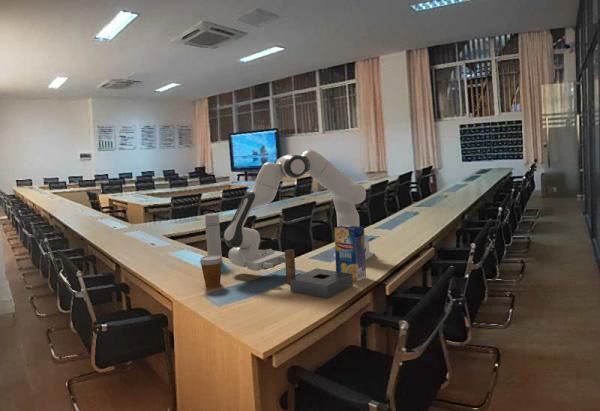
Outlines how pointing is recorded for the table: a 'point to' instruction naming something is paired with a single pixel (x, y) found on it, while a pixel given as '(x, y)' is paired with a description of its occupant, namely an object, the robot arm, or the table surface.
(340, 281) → the socket block
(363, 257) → the beverage box
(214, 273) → the disposable coffee cup
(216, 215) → the water bottle
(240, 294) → the table surface
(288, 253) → the walnut pin
